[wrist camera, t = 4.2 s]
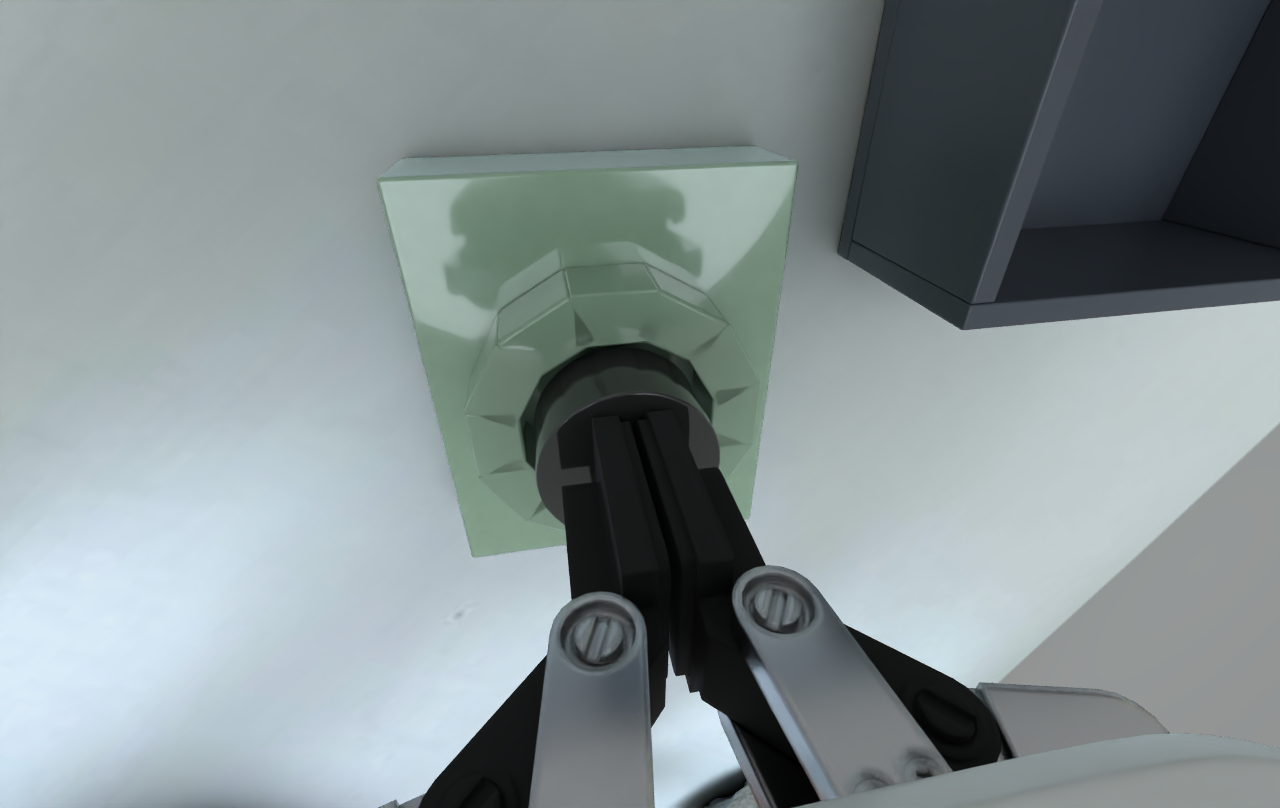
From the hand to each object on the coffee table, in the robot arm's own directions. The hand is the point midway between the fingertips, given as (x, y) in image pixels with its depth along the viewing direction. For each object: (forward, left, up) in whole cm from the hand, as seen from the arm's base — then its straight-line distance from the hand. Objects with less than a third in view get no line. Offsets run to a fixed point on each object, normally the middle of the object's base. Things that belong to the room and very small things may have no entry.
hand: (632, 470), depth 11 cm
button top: (0, 0, -2) cm, 2 cm away
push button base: (0, 0, -6) cm, 6 cm away
